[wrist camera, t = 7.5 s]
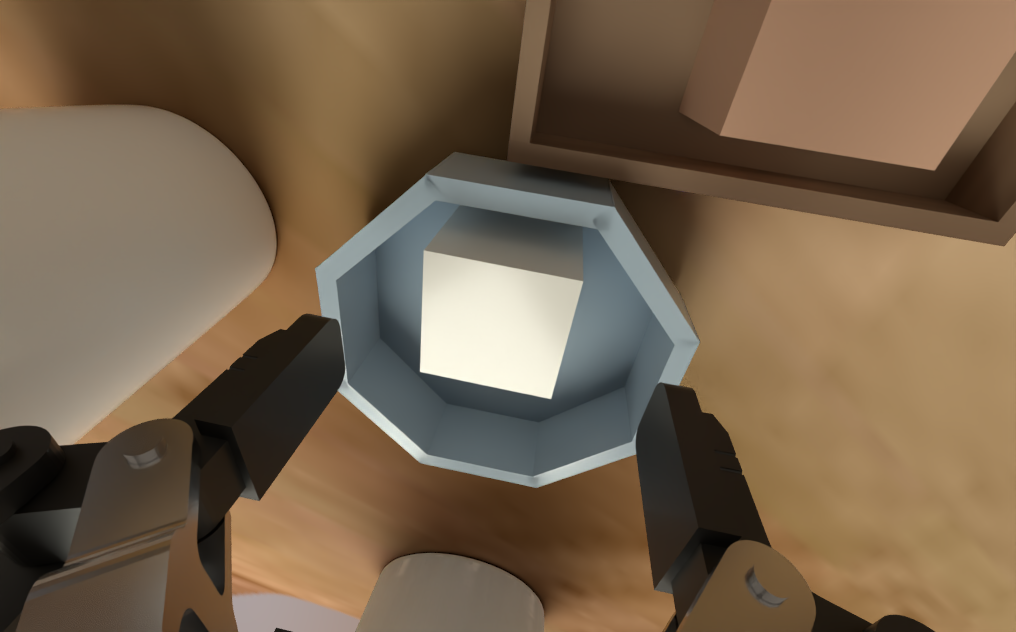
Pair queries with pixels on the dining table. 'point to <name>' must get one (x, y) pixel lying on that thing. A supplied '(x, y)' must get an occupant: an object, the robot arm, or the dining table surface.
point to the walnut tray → (725, 160)
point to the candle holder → (114, 254)
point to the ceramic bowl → (588, 352)
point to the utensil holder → (449, 598)
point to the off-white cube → (500, 299)
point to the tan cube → (850, 73)
